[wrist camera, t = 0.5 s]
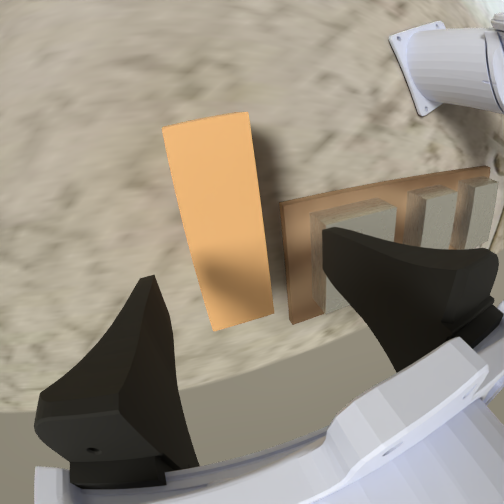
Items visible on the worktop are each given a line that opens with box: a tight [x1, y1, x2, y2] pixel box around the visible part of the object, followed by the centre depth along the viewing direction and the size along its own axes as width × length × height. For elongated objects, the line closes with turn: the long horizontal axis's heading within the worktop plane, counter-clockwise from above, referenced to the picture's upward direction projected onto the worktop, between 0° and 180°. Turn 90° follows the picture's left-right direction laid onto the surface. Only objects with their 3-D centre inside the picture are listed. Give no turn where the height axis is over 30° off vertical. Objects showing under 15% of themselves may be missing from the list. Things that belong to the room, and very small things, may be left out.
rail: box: [309, 176, 498, 314], centre depth 24 cm, size 8×26×2 cm, turn 98°
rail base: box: [279, 166, 490, 325], centre depth 26 cm, size 12×30×1 cm, turn 98°
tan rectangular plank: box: [162, 112, 274, 331], centre depth 17 cm, size 4×12×6 cm, turn 8°
